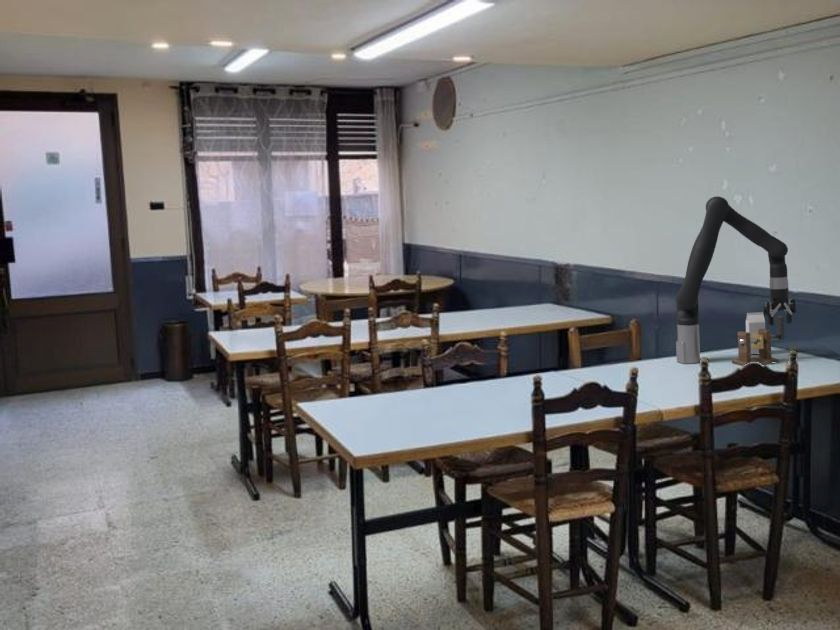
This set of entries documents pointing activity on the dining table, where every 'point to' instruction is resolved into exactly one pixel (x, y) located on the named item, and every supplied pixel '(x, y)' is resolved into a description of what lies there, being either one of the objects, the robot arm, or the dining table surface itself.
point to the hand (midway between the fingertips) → (780, 324)
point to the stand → (745, 349)
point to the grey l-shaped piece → (778, 330)
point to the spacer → (760, 341)
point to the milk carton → (754, 326)
